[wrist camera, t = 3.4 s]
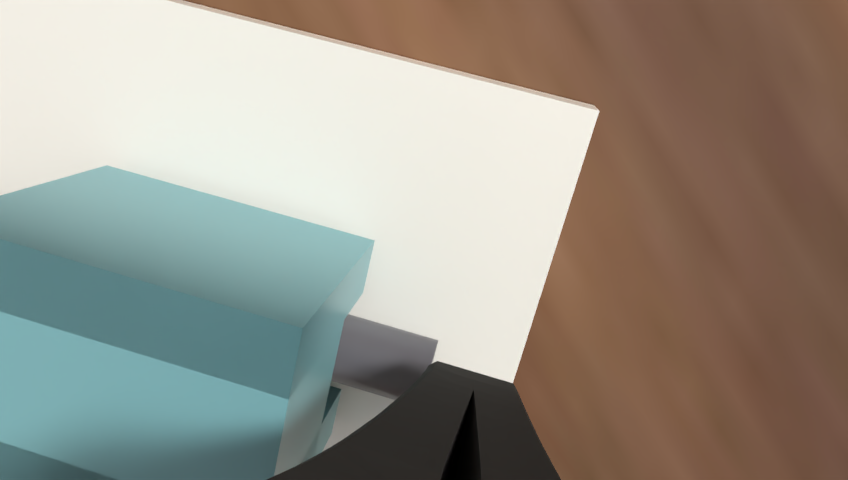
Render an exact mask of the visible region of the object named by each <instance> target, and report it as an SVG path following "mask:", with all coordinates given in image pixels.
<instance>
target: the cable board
mask: <svg viewBox="0 0 848 480" xmlns="http://www.w3.org/2000/svg"><path fill="white" fill-rule="evenodd" d="M598 114H599V110H598V109H597V108H596V107H595V106H594V105H591V104H587V103H583V102H579V101H575V100H571V99H567V98H563V97H559V96H555V95H552V94H548V93H544V92H540V91H536V90H532V89H528V88H524V87H520V86H516V85H512V84H508V83H505V82H501V81H497V80H493V79H489V78H485V77H481V76H477V75H473V74H469V73H465V72H461V71H458V70H454V69H450V68H446V67H442V66H438V65H434V64H430V63H426V62H422V61H418V60H414V59H410V58H407V57H403V56H399V55H395V54H391V53H387V52H383V51H379V50H375V49H371V48H367V47H363V46H360V45H356V44H352V43H348V42H344V41H340V40H336V39H332V38H328V37H324V36H320V35H316V34H313V33H309V32H305V31H301V30H297V29H293V28H289V27H285V26H281V25H277V24H273V23H269V22H266V21H262V20H258V19H254V18H250V17H246V16H242V15H238V14H234V13H230V12H226V11H222V10H219V9H215V8H211V7H207V6H203V5H199V4H195V3H191V2H187V1H183V0H0V195H4V194H7V193H11V192H14V191H18V190H21V189H25V188H28V187H32V186H36V185H39V184H43V183H46V182H50V181H53V180H57V179H60V178H64V177H67V176H71V175H74V174H78V173H81V172H85V171H88V170H92V169H96V168H99V167H103V166H106V165H108V166H111V167H115V168H118V169H122V170H125V171H129V172H133V173H136V174H140V175H143V176H147V177H150V178H154V179H158V180H161V181H165V182H168V183H172V184H175V185H179V186H182V187H186V188H190V189H193V190H197V191H200V192H204V193H207V194H211V195H215V196H218V197H222V198H225V199H229V200H232V201H236V202H240V203H243V204H247V205H250V206H254V207H257V208H261V209H264V210H268V211H272V212H275V213H279V214H282V215H286V216H289V217H293V218H297V219H300V220H304V221H307V222H311V223H314V224H318V225H322V226H325V227H329V228H332V229H336V230H339V231H343V232H346V233H350V234H354V235H357V236H361V237H364V238H368V239H371V240H375V241H374V246H373V250H372V255H371V259H370V264H369V268H368V273H367V277H366V282H365V286H364V291H363V293H362V295H361V296H360V298H359V299H358V301H357V302H356V304H355V305H354V306H353V308H352V309H351V311H350V312H349V314H348V315H347V316H346V318H345V319H344V324H343V328H342V333H341V337H340V342H339V347H338V351H337V356H336V360H335V365H334V370H333V374H332V379H331V383H330V386H333V387H336V388H339V389H341V393H340V398H339V402H338V407H337V411H336V416H335V420H334V425H333V429H332V433H331V436H330V437H329V439H328V441H327V443H326V445H325V447H324V449H323V451H325V450H326V449H328V448H330V447H331V446H333V445H335V444H336V443H338V442H339V441H341V440H343V439H344V438H346V437H347V436H349V435H350V434H351V433H353V432H354V431H356V430H357V429H359V428H360V427H361V426H363V425H364V424H366V423H367V422H368V421H370V420H371V419H373V418H374V417H375V416H377V415H378V414H379V413H381V412H382V411H383V410H384V409H385V408H387V407H388V406H389V405H390V404H391V403H392V402H394V401H395V400H396V399H397V398H398V397H400V396H401V395H402V394H403V393H404V392H405V391H406V390H407V389H408V388H409V387H410V386H411V385H412V384H413V383H414V382H415V381H416V380H417V379H418V378H419V377H420V376H421V375H422V374H423V372H424V371H425V370H426V369H427V367H428V365H430V364H432V363H434V362H436V361H439V362H443V363H446V364H450V365H453V366H456V367H460V368H463V369H466V370H470V371H473V372H477V373H480V374H483V375H487V376H490V377H493V378H497V379H500V380H504V381H507V382H510V383H513V381H514V378H515V374H516V371H517V368H518V365H519V362H520V359H521V356H522V352H523V349H524V346H525V343H526V340H527V337H528V334H529V330H530V327H531V324H532V321H533V318H534V315H535V312H536V308H537V305H538V302H539V299H540V296H541V293H542V290H543V286H544V283H545V280H546V277H547V274H548V271H549V268H550V264H551V261H552V258H553V255H554V252H555V249H556V246H557V242H558V239H559V236H560V233H561V230H562V227H563V224H564V220H565V217H566V214H567V211H568V208H569V205H570V202H571V198H572V195H573V192H574V189H575V186H576V183H577V180H578V176H579V173H580V170H581V167H582V164H583V161H584V158H585V154H586V151H587V148H588V145H589V142H590V139H591V136H592V132H593V129H594V126H595V123H596V120H597V117H598ZM323 451H322V452H323Z"/></svg>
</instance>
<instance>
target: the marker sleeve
mask: <svg viewBox="0 0 848 480" xmlns="http://www.w3.org/2000/svg"><path fill="white" fill-rule="evenodd" d="M374 241H375V240H371V239H368V238H364V237H361V236H357V235H354V234H350V233H346V232H343V231H339V230H336V229H332V228H329V227H325V226H322V225H318V224H314V223H311V222H307V221H304V220H300V219H297V218H293V217H289V216H286V215H282V214H279V213H275V212H272V211H268V210H264V209H261V208H257V207H254V206H250V205H247V204H243V203H240V202H236V201H232V200H229V199H225V198H222V197H218V196H215V195H211V194H207V193H204V192H200V191H197V190H193V189H190V188H186V187H182V186H179V185H175V184H172V183H168V182H165V181H161V180H158V179H154V178H150V177H147V176H143V175H140V174H136V173H133V172H129V171H125V170H122V169H118V168H115V167H111V166H108V165H106V166H103V167H99V168H96V169H92V170H88V171H85V172H81V173H78V174H74V175H71V176H67V177H64V178H60V179H57V180H53V181H50V182H46V183H43V184H39V185H36V186H32V187H28V188H25V189H21V190H18V191H14V192H11V193H7V194H4V195H0V480H266V479H269V478H271V477H273V476H275V475H278V474H280V473H282V472H284V471H286V470H288V469H291V468H293V467H295V466H297V465H299V464H301V463H303V462H305V461H306V460H308V459H310V458H312V457H314V456H316V455H318V454H319V453H321V452H322V451H323V449H324V447H325V445H326V443H327V441H328V439H329V437H330V436H331V433H332V429H333V425H334V420H335V416H336V411H337V407H338V402H339V398H340V393H341V389H339V388H336V387H333V386H330V383H331V379H332V374H333V370H334V365H335V360H336V356H337V351H338V347H339V342H340V337H341V333H342V328H343V324H344V319H345V318H346V316H347V315H348V314H349V312H350V311H351V309H352V308H353V306H354V305H355V304H356V302H357V301H358V299H359V298H360V296H361V295H362V293H363V291H364V286H365V282H366V277H367V273H368V268H369V264H370V259H371V255H372V250H373V246H374Z"/></svg>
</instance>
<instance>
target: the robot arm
mask: <svg viewBox="0 0 848 480" xmlns="http://www.w3.org/2000/svg"><path fill="white" fill-rule="evenodd" d="M266 480H561V479H560V477H559V475H558V474H557V472H556V470H555V468H554V466H553V464H552V463H551V461H550V459H549V457H548V455H547V453H546V451H545V449H544V448H543V446H542V444H541V442H540V440H539V438H538V436H537V434H536V431H535V429H534V427H533V425H532V423H531V421H530V419H529V416H528V414H527V412H526V410H525V408H524V405H523V403H522V401H521V398H520V396H519V394H518V392H517V390H516V388H515V386H514V384H513V383H510V382H507V381H504V380H500V379H497V378H493V377H490V376H487V375H483V374H480V373H477V372H473V371H470V370H466V369H463V368H460V367H456V366H453V365H450V364H446V363H443V362H439V361H436V362H434V363H432V364H430V365H428V367H427V369H426V370H425V371H424V372H423V374H422V375H421V376H420V377H419V378H418V379H417V380H416V381H415V382H414V383H413V384H412V385H411V386H410V387H409V388H408V389H407V390H406V391H405V392H404V393H403V394H402V395H401V396H400V397H398V398H397V399H396V400H395V401H394V402H392V403H391V404H390V405H389V406H388V407H387V408H385V409H384V410H383V411H382V412H381V413H379V414H378V415H377V416H375V417H374V418H373V419H371V420H370V421H368V422H367V423H366V424H364V425H363V426H361V427H360V428H359V429H357V430H356V431H354V432H353V433H351V434H350V435H349V436H347V437H346V438H344V439H343V440H341V441H339V442H338V443H336V444H335V445H333V446H331V447H330V448H328V449H326V450H325V451H323V452H321V453H319V454H318V455H316V456H314V457H312V458H310V459H308V460H306V461H305V462H303V463H301V464H299V465H297V466H295V467H293V468H291V469H288V470H286V471H284V472H282V473H280V474H278V475H275V476H273V477H271V478H269V479H266Z"/></svg>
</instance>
